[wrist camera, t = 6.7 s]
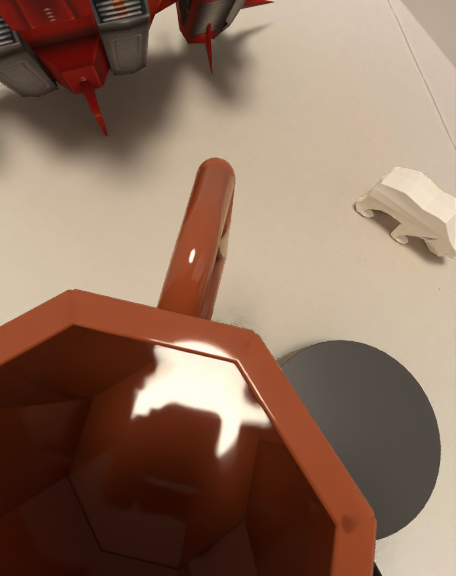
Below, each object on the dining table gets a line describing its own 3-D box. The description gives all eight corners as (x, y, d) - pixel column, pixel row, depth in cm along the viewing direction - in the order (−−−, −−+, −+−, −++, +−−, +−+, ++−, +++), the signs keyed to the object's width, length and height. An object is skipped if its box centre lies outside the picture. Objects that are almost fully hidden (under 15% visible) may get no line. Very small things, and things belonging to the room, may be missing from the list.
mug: (245, 597, 11) (331, 1165, 3) (33, 544, 11) (-427, 954, 3) (298, 280, 14) (409, 147, 6) (135, 242, 14) (39, 66, 6)
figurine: (369, 188, 26) (401, 149, 22) (451, 254, 25) (502, 227, 21) (351, 207, 26) (379, 172, 21) (433, 276, 24) (482, 253, 20)
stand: (410, 510, 20) (456, 541, 16) (249, 512, 20) (258, 544, 16) (390, 347, 23) (425, 341, 19) (248, 346, 23) (255, 339, 19)
